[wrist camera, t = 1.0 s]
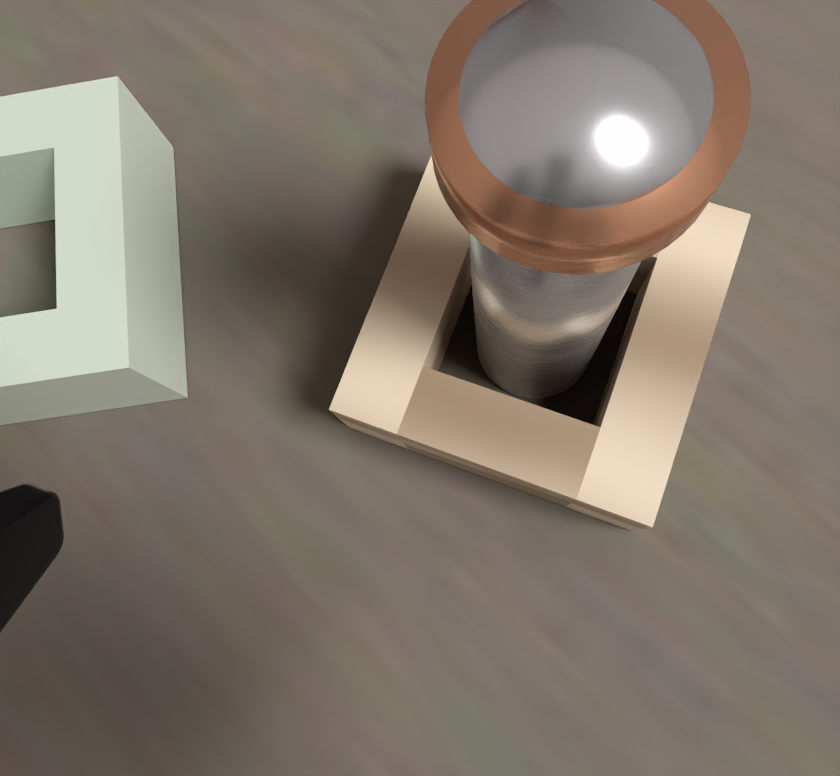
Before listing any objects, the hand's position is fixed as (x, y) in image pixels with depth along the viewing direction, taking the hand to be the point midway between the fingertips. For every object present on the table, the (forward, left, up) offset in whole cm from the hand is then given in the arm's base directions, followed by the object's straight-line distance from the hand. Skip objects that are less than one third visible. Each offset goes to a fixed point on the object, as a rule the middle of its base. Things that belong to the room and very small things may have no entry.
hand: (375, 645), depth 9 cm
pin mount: (+7, +5, -13) cm, 16 cm away
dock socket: (-5, +16, -13) cm, 21 cm away
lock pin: (+7, +5, -13) cm, 16 cm away
